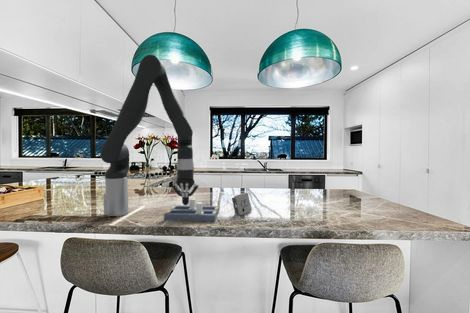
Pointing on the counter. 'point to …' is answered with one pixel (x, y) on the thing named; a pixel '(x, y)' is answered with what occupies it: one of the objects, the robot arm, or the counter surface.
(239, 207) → the electrical switch
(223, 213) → the counter surface
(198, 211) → the tab
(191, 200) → the tab
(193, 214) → the blue-grey compartment tray
